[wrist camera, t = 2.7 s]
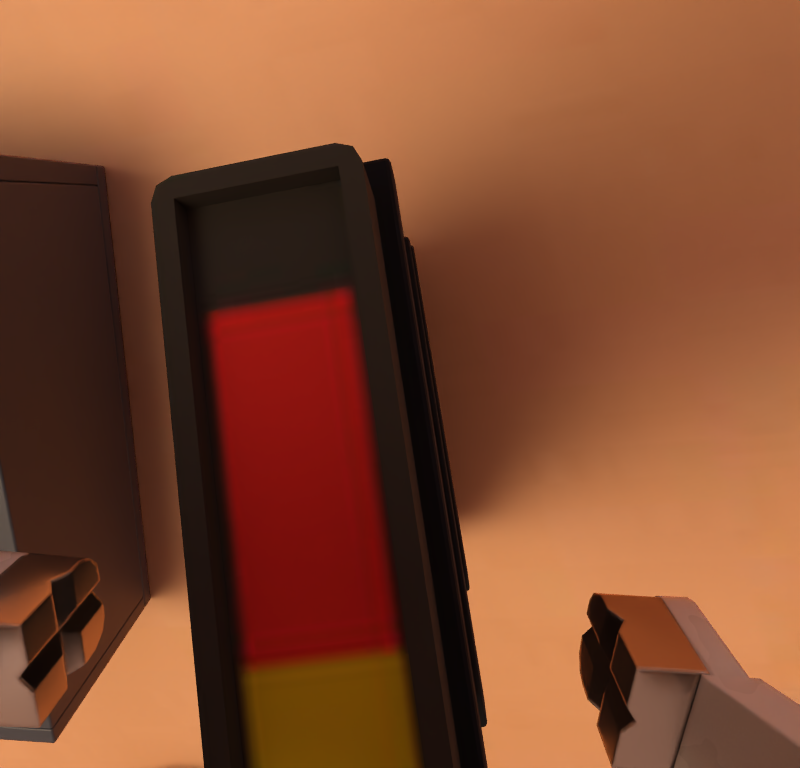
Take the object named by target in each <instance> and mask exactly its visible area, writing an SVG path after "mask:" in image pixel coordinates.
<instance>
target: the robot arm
mask: <svg viewBox="0 0 800 768" xmlns="http://www.w3.org/2000/svg"><path fill="white" fill-rule="evenodd" d="M99 581H100V576H99V571H98V565H97V563H96V562H95V561H93V560H92V559H90V558H82V557H71V556H60V555H49V554H38V553H30V554H29V553H23V552H10V551H0V726H1V727H27V728H40V726H41V725H42V724H43V722H44V721H45V720H46V718H47V717H48V715H49V714H50V713H51V711H52V710H53V709H54V707H55V706H56V704H57V703H58V702H59V700H60V699H61V698H62V696H63V695H64V693H65V692H66V691H67V689H68V685H67V675H69V674H71V673H72V672H74V671H76V670H77V669H79V668H81V667H82V666H84V665H85V664H86V663H87V661H88V660H89V659H90V657H91V656H92V654H93V653H94V651H95V650H96V648H97V645H98V642H99V640H100V637H101V634H102V632H103V626H104V617H105V614H104V606H103V602H102V601H101V600H100V599H99V598H98V597H97V595H96V594H95V593H94V592H93V591H92V590H93V589H94V588H95V586H96V585H97V584H98V582H99ZM587 615H588V618H589V620H590V622H591V625H592V627H591V628H590V629H589V630H588V631H587V632H586V633H585V634H583V635H582V639H581V645H580V651H579V660H580V674H581V679H582V684H583V688H584V690H585V693H586V696H587V699H588V700H589V701H590V702H591V703H592V704H593V705H594V706H595V707H596V708H597V709H598V710H600V713H599V717H598V722H597V728H598V730H599V733H600V736H601V739H602V741H603V744H604V747H605V750H606V753H607V755H608V758H609V761H610V764H611V766H612V768H800V705H799V704H797V703H796V702H794V701H793V700H791V699H790V698H788V697H787V696H785V695H784V694H782V693H781V692H779V691H778V690H776V689H775V688H773V687H772V686H770V685H769V684H767V683H766V682H764V681H763V680H761V679H757V678H749V677H748V675H747V674H746V672H745V671H744V670H743V668H742V667H741V665H740V664H739V663H738V661H737V660H736V659H735V657H734V656H733V654H732V653H731V652H730V650H729V649H728V648H727V646H726V645H725V643H724V642H723V641H722V639H721V638H720V636H719V635H718V634H717V632H716V631H715V630H714V628H713V627H712V625H711V624H710V623H709V621H708V620H707V618H706V617H705V616H704V614H703V613H702V612H701V610H700V609H699V607H698V606H697V605H696V603H695V602H694V601H692V600H691V599H689V598H688V597H671V596H655V597H649V596H634V595H618V594H602V593H594V594H593V595H592V597H591V599H590V601H589V605H588V610H587Z"/></svg>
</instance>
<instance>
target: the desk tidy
mask: <svg viewBox="0 0 800 768" xmlns="http://www.w3.org/2000/svg"><path fill="white" fill-rule="evenodd" d="M0 551H10V552H23V553H29V554H30V553H38V554H49V555H60V556H71V557H82V558H90V559H92V560H93V561H95V562H96V563H97V565H98V571H99V576H100V581H99V582H98V584H97V585H96V586H95V588H94V589H93V590H92V591H93V592H94V593H95V594H96V595H97V597H98V598H99V599H100V600H101V601H102V602H103V606H104V614H105V617H104V626H103V632H102V634H101V637H100V640H99V642H98V645H97V648H96V650H95V651H94V653H93V654H92V656H91V657H90V659H89V660H88V661H87V663H86V664H85V665H84V666H82V667H81V668H79V669H77V670H76V671H74V672H72V673H71V674H69V675H67V685H68V689H67V691H66V692H65V693H64V695H63V696H62V698H61V699H60V700H59V702H58V703H57V704H56V706H55V707H54V709H53V710H52V711H51V713H50V714H49V715H48V717H47V718H46V720H45V721H44V722H43V724H42V725H41V726H40V728H27V727H1V726H0V739H4V740H18V741H32V742H47V743H54V742H56V740H57V739H58V737H59V736H60V734H61V733H62V731H63V730H64V728H65V726H66V725H67V723H68V722H69V720H70V719H71V717H72V716H73V714H74V713H75V711H76V710H77V708H78V707H79V705H80V704H81V702H82V701H83V699H84V698H85V696H86V695H87V693H88V692H89V690H90V689H91V687H92V686H93V684H94V683H95V681H96V680H97V678H98V677H99V675H100V674H101V672H102V671H103V669H104V668H105V666H106V665H107V663H108V662H109V660H110V659H111V657H112V656H113V654H114V653H115V651H116V650H117V648H118V647H119V645H120V644H121V642H122V641H123V639H124V638H125V636H126V635H127V633H128V632H129V630H130V629H131V627H132V626H133V624H134V623H135V621H136V620H137V618H138V617H139V615H140V614H141V612H142V611H143V609H144V607H145V606H146V605H147V603H148V602H149V600H150V592H149V582H148V573H147V564H146V554H145V545H144V536H143V526H142V517H141V508H140V498H139V489H138V480H137V470H136V461H135V451H134V442H133V433H132V423H131V414H130V405H129V395H128V386H127V377H126V367H125V358H124V349H123V339H122V330H121V321H120V311H119V302H118V293H117V283H116V274H115V265H114V255H113V246H112V237H111V227H110V218H109V209H108V199H107V190H106V181H105V171H104V167H103V166H98V165H89V164H80V163H71V162H62V161H53V160H44V159H36V158H27V157H18V156H9V155H0Z"/></svg>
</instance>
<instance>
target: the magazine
mask: <svg viewBox="0 0 800 768" xmlns="http://www.w3.org/2000/svg"><path fill="white" fill-rule="evenodd" d="M151 208H152V219H153V229H154V240H155V250H156V261H157V272H158V282H159V293H160V303H161V314H162V325H163V335H164V346H165V356H166V367H167V378H168V388H169V399H170V409H171V420H172V431H173V441H174V452H175V462H176V473H177V484H178V494H179V505H180V515H181V526H182V537H183V547H184V558H185V568H186V579H187V590H188V600H189V611H190V621H191V632H192V643H193V653H194V664H195V674H196V685H197V696H198V706H199V717H200V727H201V738H202V749H203V759H204V768H488V767H487V761H486V754H485V748H484V742H483V735H482V729H481V727H485V726H486V724H487V718H486V710H485V702H484V695H483V689H482V682H481V676H480V670H479V664H478V658H477V652H476V646H475V639H474V633H473V627H472V621H471V615H470V609H469V602H468V596H467V591H468V590H469V588H470V587H469V580H468V572H467V566H466V560H465V554H464V548H463V542H462V536H461V530H460V524H459V518H458V512H457V506H456V500H455V494H454V488H453V482H452V476H451V470H450V464H449V458H448V452H447V446H446V440H445V434H444V428H443V422H442V416H441V410H440V404H439V398H438V392H437V386H436V380H435V374H434V368H433V362H432V356H431V350H430V344H429V338H428V332H427V326H426V320H425V314H424V308H423V302H422V296H421V290H420V284H419V278H418V272H417V266H416V259H415V253H414V247H413V246H412V245H410V241H409V239H408V238H407V237H404V234H403V228H402V222H401V215H400V209H399V203H398V196H397V190H396V184H395V179H394V174H393V170H392V166H391V162H390V161H389V159H386V158H384V159H379V160H374V161H369V162H364V163H363V162H362V160H361V158H360V157H359V155H358V153H357V152H356V150H355V149H354V147H353V146H349V145H343V144H338V143H333V144H328V145H323V146H318V147H313V148H308V149H303V150H298V151H293V152H288V153H283V154H278V155H273V156H268V157H264V158H259V159H254V160H249V161H244V162H239V163H234V164H229V165H224V166H219V167H214V168H209V169H204V170H199V171H194V172H189V173H184V174H179V175H174V176H171V177H169V178H168V179H166V180H164V181H163V182H161V183H160V184H158V185H157V186H156V188H155V191H154V195H153V198H152V201H151Z"/></svg>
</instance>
